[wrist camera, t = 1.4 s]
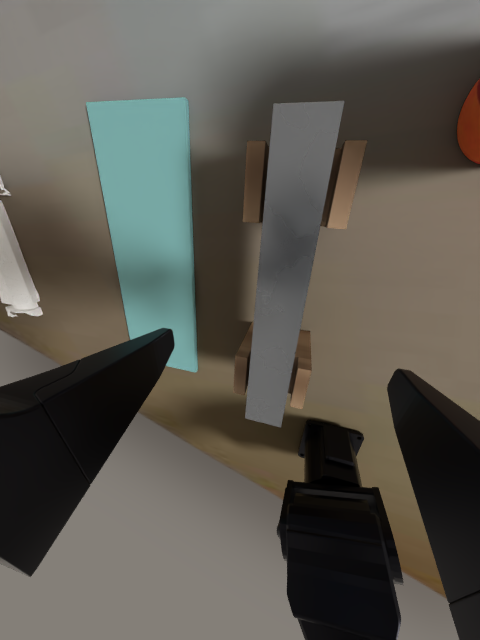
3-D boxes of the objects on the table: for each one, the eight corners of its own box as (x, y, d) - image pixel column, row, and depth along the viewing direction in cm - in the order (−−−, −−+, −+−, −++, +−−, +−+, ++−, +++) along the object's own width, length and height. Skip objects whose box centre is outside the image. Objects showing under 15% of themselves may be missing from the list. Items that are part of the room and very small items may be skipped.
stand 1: (333, 224, 18) (345, 228, 13) (261, 219, 20) (242, 221, 14) (346, 165, 17) (367, 140, 11) (265, 164, 18) (247, 141, 12)
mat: (197, 369, 29) (195, 372, 28) (136, 356, 31) (133, 358, 30) (188, 100, 17) (184, 97, 17) (91, 105, 19) (86, 102, 19)
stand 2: (303, 363, 24) (302, 409, 19) (249, 353, 26) (233, 392, 20) (310, 331, 23) (311, 370, 17) (252, 322, 24) (235, 355, 18)
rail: (283, 400, 21) (280, 427, 18) (252, 393, 21) (245, 418, 19) (336, 125, 12) (344, 100, 9) (280, 126, 13) (273, 103, 10)
